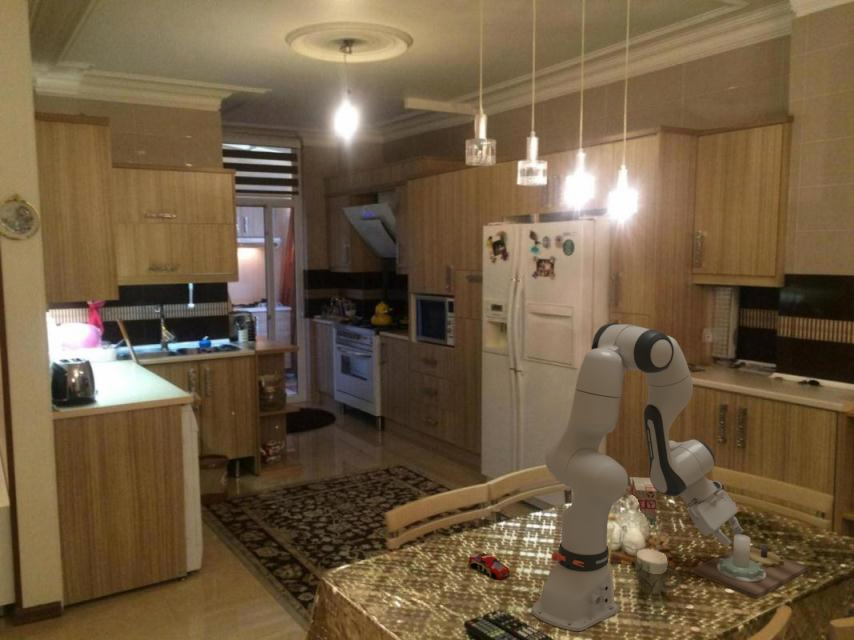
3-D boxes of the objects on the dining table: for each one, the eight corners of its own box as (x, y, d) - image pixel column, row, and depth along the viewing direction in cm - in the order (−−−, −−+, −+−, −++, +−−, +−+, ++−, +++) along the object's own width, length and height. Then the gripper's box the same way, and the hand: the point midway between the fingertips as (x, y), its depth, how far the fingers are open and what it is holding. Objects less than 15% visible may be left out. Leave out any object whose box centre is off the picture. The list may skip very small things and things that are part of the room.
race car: (513, 577, 189) (513, 563, 188) (499, 583, 185) (499, 569, 185) (480, 560, 199) (480, 547, 199) (466, 566, 196) (466, 552, 195)
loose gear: (756, 583, 180) (757, 549, 179) (712, 571, 187) (713, 538, 186) (769, 568, 188) (770, 536, 187) (726, 557, 195) (727, 526, 194)
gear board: (756, 599, 175) (757, 578, 175) (692, 572, 190) (692, 553, 189) (807, 570, 190) (808, 551, 190) (744, 548, 205) (745, 530, 204)
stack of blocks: (628, 502, 243) (629, 468, 241) (647, 503, 242) (648, 469, 240) (635, 526, 222) (635, 489, 221) (655, 528, 221) (656, 490, 219)
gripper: (693, 498, 183) (730, 545, 178) (720, 480, 199) (755, 522, 193) (676, 511, 187) (712, 557, 181) (704, 491, 202) (738, 533, 196)
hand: (734, 538), depth 187 cm, fingers open, 8 cm apart
